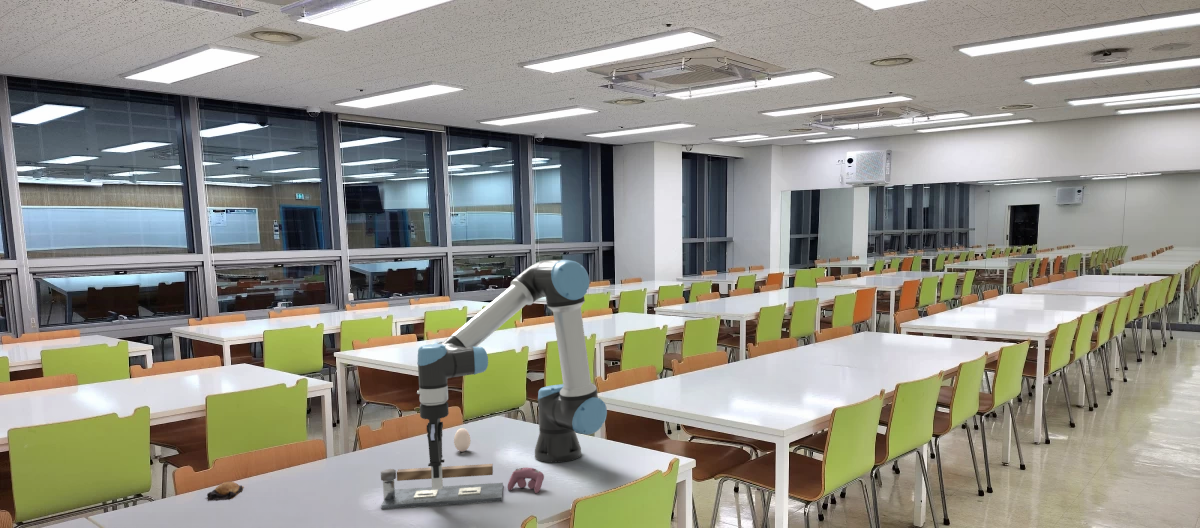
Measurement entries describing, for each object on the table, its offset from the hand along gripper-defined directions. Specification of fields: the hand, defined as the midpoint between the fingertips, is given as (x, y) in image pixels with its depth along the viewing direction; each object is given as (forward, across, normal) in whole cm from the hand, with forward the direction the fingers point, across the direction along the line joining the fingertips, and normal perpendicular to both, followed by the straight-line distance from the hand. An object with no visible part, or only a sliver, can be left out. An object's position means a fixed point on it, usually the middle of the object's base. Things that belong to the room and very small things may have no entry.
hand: (437, 488), depth 197 cm
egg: (+5, -48, +3) cm, 48 cm away
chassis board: (+4, -5, +1) cm, 7 cm away
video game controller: (+5, -7, +24) cm, 25 cm away
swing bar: (-1, -5, -1) cm, 5 cm away
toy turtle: (+5, -20, -63) cm, 66 cm away
